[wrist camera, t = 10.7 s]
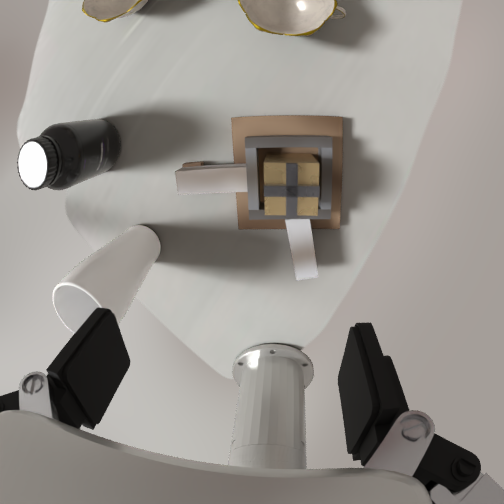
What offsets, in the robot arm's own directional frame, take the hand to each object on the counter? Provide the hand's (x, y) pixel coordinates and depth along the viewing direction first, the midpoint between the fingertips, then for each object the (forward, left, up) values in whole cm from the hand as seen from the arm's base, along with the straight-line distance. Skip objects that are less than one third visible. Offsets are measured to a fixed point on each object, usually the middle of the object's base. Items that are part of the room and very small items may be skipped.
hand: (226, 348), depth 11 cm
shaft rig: (0, 0, -23) cm, 23 cm away
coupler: (+2, -3, -22) cm, 22 cm away
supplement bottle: (+7, +19, -23) cm, 31 cm away
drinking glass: (-6, +15, -23) cm, 28 cm away
